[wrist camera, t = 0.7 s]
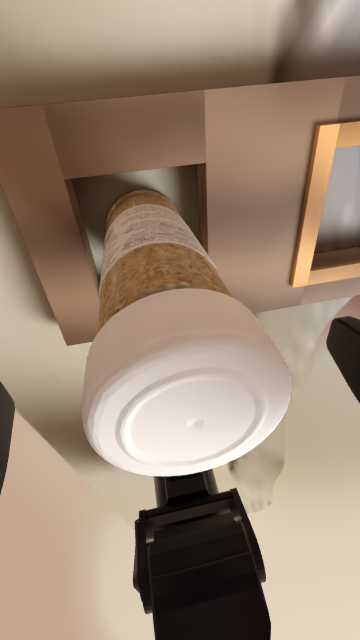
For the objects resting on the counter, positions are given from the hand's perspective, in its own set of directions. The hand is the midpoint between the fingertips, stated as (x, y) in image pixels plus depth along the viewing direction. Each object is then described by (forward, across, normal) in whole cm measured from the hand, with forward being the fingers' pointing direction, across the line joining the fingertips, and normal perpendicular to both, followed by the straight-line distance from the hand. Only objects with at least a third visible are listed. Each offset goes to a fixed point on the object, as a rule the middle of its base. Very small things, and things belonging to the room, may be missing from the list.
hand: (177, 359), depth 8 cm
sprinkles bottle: (+11, 0, 0) cm, 11 cm away
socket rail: (+11, -7, 0) cm, 13 cm away
